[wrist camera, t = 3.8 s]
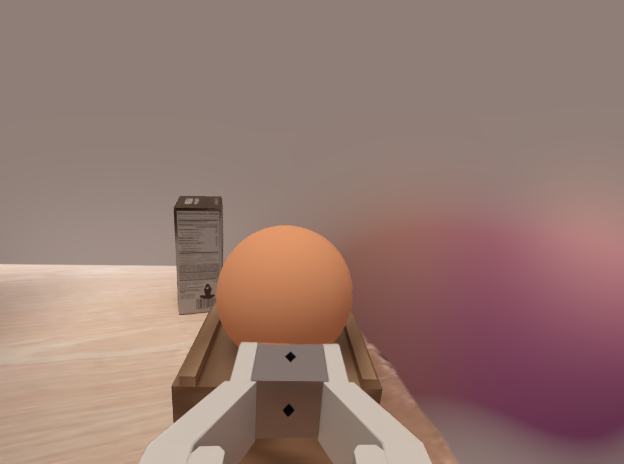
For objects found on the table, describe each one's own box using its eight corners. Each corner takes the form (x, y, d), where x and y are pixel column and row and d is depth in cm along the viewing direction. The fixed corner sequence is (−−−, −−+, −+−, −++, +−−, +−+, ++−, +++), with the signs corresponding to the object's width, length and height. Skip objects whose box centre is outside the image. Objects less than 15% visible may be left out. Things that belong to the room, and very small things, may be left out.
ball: (185, 368, 20) (180, 231, 18) (260, 304, 29) (263, 207, 27) (320, 423, 17) (338, 265, 14) (357, 332, 26) (372, 225, 24)
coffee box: (182, 287, 50) (179, 194, 46) (221, 284, 52) (221, 195, 48) (177, 316, 42) (172, 206, 38) (224, 311, 44) (224, 207, 40)
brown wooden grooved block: (177, 487, 21) (170, 376, 19) (217, 368, 33) (216, 289, 30) (365, 484, 22) (384, 379, 20) (340, 370, 34) (349, 295, 31)
